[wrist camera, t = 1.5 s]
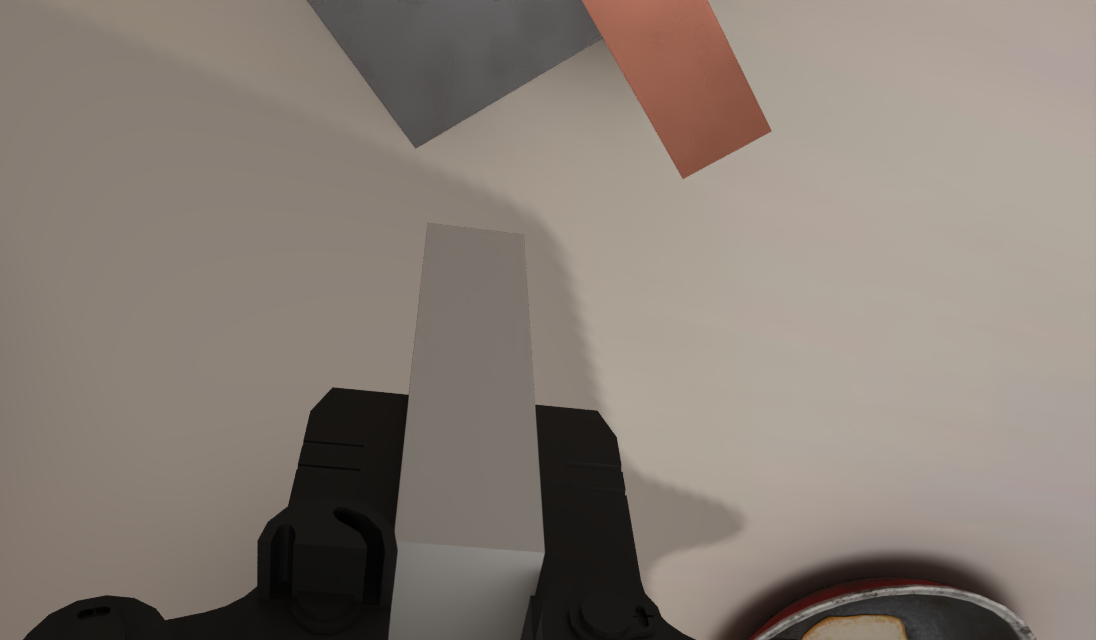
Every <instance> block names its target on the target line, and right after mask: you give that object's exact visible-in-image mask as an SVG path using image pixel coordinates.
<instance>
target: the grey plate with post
mask: <svg viewBox="0 0 1096 640" xmlns="http://www.w3.org/2000/svg"><path fill="white" fill-rule="evenodd" d="M307 1H308V2H309V4H310V5H311V6H312V8H313V9H314V10H315V12H316V13H317V15H318V16H319V17H320V19H321V20H322V21H323V23H324V24H325V25H326V27H327V28H328V30H329V31H330V32H331V34H332V35H333V36H334V38H335V39H336V40H337V42H338V43H339V45H340V46H341V47H342V49H343V50H344V51H345V53H346V54H347V56H348V57H349V58H350V60H351V61H352V62H353V64H354V65H355V66H356V68H357V69H358V71H359V72H360V73H361V75H362V76H363V77H364V79H365V80H366V81H367V83H368V84H369V86H370V87H371V88H372V90H373V91H374V92H375V94H376V95H377V96H378V98H379V99H380V101H381V102H382V103H383V105H384V106H385V107H386V109H387V110H388V112H389V113H390V114H391V116H392V117H393V118H394V120H395V121H396V122H397V124H398V125H399V127H400V128H401V129H402V131H403V132H404V133H405V135H406V136H407V137H408V139H409V140H410V142H411V143H412V144H413V146H414V147H415V148H417V147H419V146H421V145H423V144H424V143H426V142H428V141H429V140H431V139H433V138H434V137H436V136H438V135H439V134H441V133H443V132H445V131H446V130H448V129H450V128H451V127H453V126H455V125H456V124H458V123H460V122H461V121H463V120H465V119H466V118H468V117H470V116H472V115H473V114H475V113H477V112H478V111H480V110H482V109H483V108H485V107H487V106H488V105H490V104H492V103H494V102H495V101H497V100H499V99H500V98H502V97H504V96H505V95H507V94H509V93H510V92H512V91H514V90H515V89H517V88H519V87H521V86H522V85H524V84H526V83H527V82H529V81H531V80H532V79H534V78H536V77H537V76H539V75H541V74H542V73H544V72H546V71H548V70H549V69H551V68H553V67H554V66H556V65H558V64H559V63H561V62H563V61H564V60H566V59H568V58H570V57H571V56H573V55H575V54H576V53H578V52H580V51H581V50H583V49H585V48H586V47H588V46H590V45H591V44H593V43H595V42H597V41H598V40H600V39H602V38H603V37H602V35H601V33H600V32H599V30H598V28H597V26H596V25H595V23H594V21H593V19H592V18H591V16H590V14H589V12H588V10H587V9H586V7H585V5H584V3H583V2H582V0H307Z"/></svg>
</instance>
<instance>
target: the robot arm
mask: <svg viewBox="0 0 1096 640" xmlns="http://www.w3.org/2000/svg"><path fill="white" fill-rule="evenodd" d="M257 563H258V567H257V568H258V570H257V571H258V572H257V581H258V582H257V587H256V588H254V589H253V590H252V591H251V592H249V593H248V594H247V595H246V596H245V597H243V598H241V599H239V600H237V601H235V602H233V603H231V604H229V605H227V606H225V607H221V608H218V609H215V610H211V611H208V612H205V613H199V614H194V615H189V616H184V617H180V618H175V619H169V620H164V618H163V617H162V616H161V615H160V613H159V612H158V611H157V610H156V608H154V607H152V606H149V605H147V604H145V603H143V602H141V601H139V600H137V599H135V598H129V597H119V596H108V595H106V596H100V597H95V598H90V599H85V600H79V601H76V602H74V603H72V604H70V605H68V606H66V607H64V608H61V609H59V610H57V611H55V612H53V613H51V614H49V615H48V616H47V617H46V618H45V619H44V620H43V621H42V622H41V623H39V624H38V625H37V626H36V627H35V628H34V629H33V630H32V631H30V632H29V633H28V634H27V636H26V637H25V638H24V639H23V640H695V639H693V638H691V637H689V636H687V635H685V634H683V633H681V632H680V631H678V630H677V629H676V628H674V627H673V626H671V625H670V624H668V623H667V622H666V621H665V620H664V619H663V618H662V617H661V614H660V612H659V609H658V607H657V606H656V605H655V603H654V602H653V601H652V600H651V599H650V598H649V597H648V596H647V595H646V594H645V592H644V589H643V586H642V582H641V578H640V572H639V566H638V561H637V555H636V549H635V543H634V537H633V531H632V525H631V519H630V514H629V507H628V501H627V496H625V484H624V478H623V472H621V460H620V454H619V448H618V442H617V437H616V436H615V434H614V433H613V432H612V430H611V429H610V427H609V426H608V425H607V423H606V422H605V420H604V419H603V418H602V416H601V415H600V414H599V412H598V411H595V410H583V409H574V408H563V407H554V406H543V405H535V395H534V381H533V366H532V350H531V336H530V320H529V304H528V289H527V274H526V259H525V244H524V234H516V233H507V232H499V231H490V230H482V229H475V228H466V227H458V226H450V225H442V224H433V223H428V225H427V233H426V242H425V251H424V261H423V269H422V278H421V287H420V296H419V305H418V314H417V323H416V332H415V341H414V350H413V359H412V368H411V377H410V387H409V395H405V394H395V393H384V392H374V391H364V390H354V389H344V388H332V389H331V390H330V391H329V392H328V393H327V394H326V395H325V396H324V398H322V399H321V400H320V402H319V403H318V404H317V405H316V406H315V407H314V408H313V409H312V410H311V411H310V415H309V420H308V424H307V428H306V432H305V437H304V442H303V446H302V449H301V453H300V458H299V462H298V469H297V470H296V474H295V479H294V483H293V487H292V491H291V496H290V500H289V504H288V507H286V508H285V509H284V510H282V511H281V512H280V513H279V514H277V515H276V516H275V517H274V518H272V519H271V520H270V521H268V523H267V525H266V526H265V528H264V530H263V532H262V534H261V536H260V537H259V539H258V562H257ZM768 640H798V639H791V638H771V639H768Z"/></svg>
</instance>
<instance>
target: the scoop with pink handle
mask: <svg viewBox="0 0 1096 640" xmlns="http://www.w3.org/2000/svg"><path fill="white" fill-rule="evenodd" d="M582 2H583V3H584V5H585V7H586V9H587V10H588V12H589V14H590V16H591V18H592V19H593V21H594V23H595V25H596V26H597V28H598V30H599V32H600V33H601V35H602V37H603V39H604V40H605V42H606V44H607V46H608V48H609V49H610V51H611V53H612V55H613V56H614V58H615V60H616V62H617V63H618V65H619V67H620V69H621V70H622V72H623V74H624V76H625V78H626V79H627V81H628V83H629V85H630V86H631V88H632V90H633V92H634V93H635V95H636V97H637V99H638V101H639V102H640V104H641V106H642V108H643V109H644V111H645V113H646V115H647V116H648V118H649V120H650V122H651V123H652V125H653V127H654V129H655V131H656V132H657V134H658V136H659V138H660V139H661V141H662V143H663V145H664V146H665V148H666V150H667V152H668V153H669V155H670V157H671V159H672V161H673V162H674V164H675V166H676V168H677V169H678V171H679V173H680V175H681V176H682V178H683V179H684V178H686V177H687V176H689V175H691V174H693V173H695V172H697V171H699V170H700V169H702V168H704V167H706V166H708V165H710V164H712V163H713V162H715V161H717V160H719V159H721V158H723V157H725V156H726V155H728V154H730V153H732V152H734V151H736V150H738V149H739V148H741V147H743V146H745V145H747V144H749V143H751V142H752V141H754V140H756V139H758V138H760V137H762V136H764V135H765V134H767V133H769V132H771V129H770V127H769V125H768V123H767V121H766V118H765V116H764V114H763V112H762V110H761V108H760V106H759V104H758V102H757V100H756V98H755V96H754V94H753V92H752V90H751V88H750V86H749V84H748V82H747V80H746V78H745V76H744V74H743V72H742V70H741V67H740V65H739V63H738V61H737V59H736V57H735V55H734V53H733V51H732V49H731V47H730V45H729V43H728V41H727V39H726V37H725V35H724V33H723V31H722V29H721V27H720V25H719V23H718V21H717V19H716V16H715V14H714V12H713V10H712V8H711V6H710V4H709V2H708V0H582Z"/></svg>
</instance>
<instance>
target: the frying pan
mask: <svg viewBox="0 0 1096 640" xmlns="http://www.w3.org/2000/svg"><path fill="white" fill-rule="evenodd" d="M771 638H791V639H798V640H1036V637H1035V636H1034V634H1033V633H1032V632H1031V630H1030V629H1029V627H1028V626H1027V624H1026V623H1025V622H1024V620H1022V619H1021V618H1020V617H1019V616H1017V615H1016V614H1015V613H1013V612H1012V611H1011V610H1010V609H1008V608H1007V607H1006V606H1004V605H1001V604H999V603H997V602H995V601H993V600H990V599H988V598H986V597H984V596H981V595H979V594H977V593H974V592H969V591H965V590H961V589H959V588H956V587H953V586H950V585H946V584H941V583H937V582H933V581H928V580H921V579H913V578H905V577H890V576H884V577H870V578H861V579H856V580H851V581H846V582H841V583H837V584H834V585H831V586H828V587H825V588H822V589H819V590H816V591H814V592H812V593H810V594H808V595H806V596H803V597H801V598H799V599H797V600H795V601H794V602H792V603H791V604H789V605H788V606H786V607H785V608H783V609H782V610H780V611H779V612H777V613H776V614H775V615H774V616H773V617H772V618H770V619H769V620H768V621H767V622H766V623H765V624H764V625H763V626H762V627H761V628H760V629H759V630H758V631H757V632H756V633H755V634H754V635H753V636H751V637H750V638H749V640H768V639H771Z"/></svg>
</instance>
